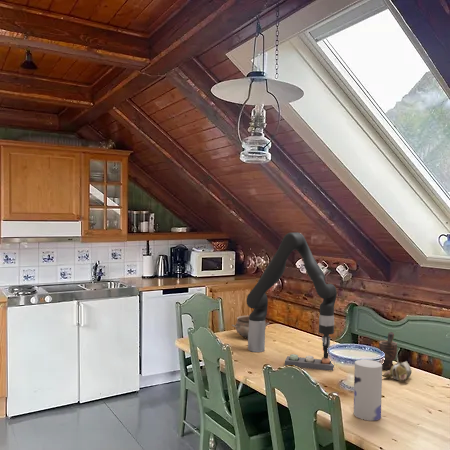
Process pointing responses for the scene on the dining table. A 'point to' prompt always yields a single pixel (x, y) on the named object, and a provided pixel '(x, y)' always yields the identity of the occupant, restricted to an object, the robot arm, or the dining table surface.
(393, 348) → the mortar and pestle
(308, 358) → the cream button
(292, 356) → the sage button
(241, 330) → the cooking pot
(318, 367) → the control strip
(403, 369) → the ceramic sculpture
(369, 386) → the container
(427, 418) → the dining table surface
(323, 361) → the terracotta button
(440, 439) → the dining table surface
